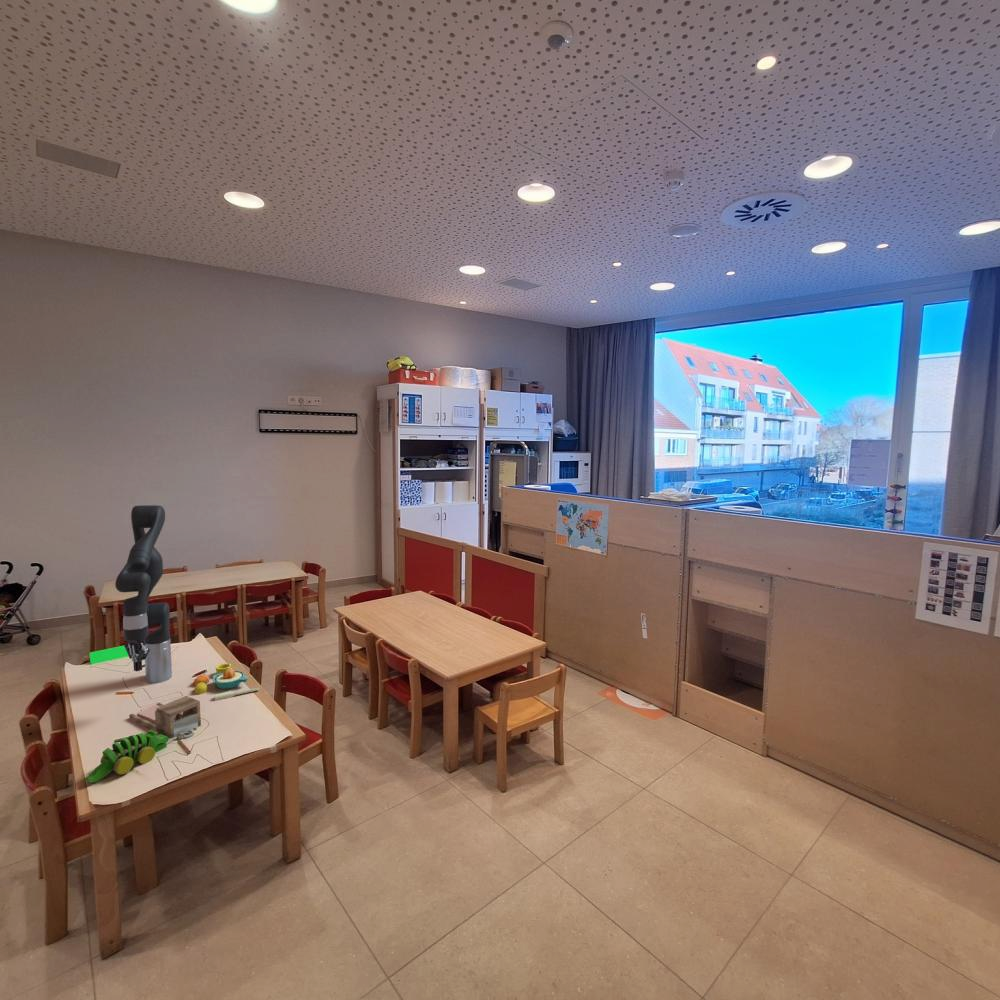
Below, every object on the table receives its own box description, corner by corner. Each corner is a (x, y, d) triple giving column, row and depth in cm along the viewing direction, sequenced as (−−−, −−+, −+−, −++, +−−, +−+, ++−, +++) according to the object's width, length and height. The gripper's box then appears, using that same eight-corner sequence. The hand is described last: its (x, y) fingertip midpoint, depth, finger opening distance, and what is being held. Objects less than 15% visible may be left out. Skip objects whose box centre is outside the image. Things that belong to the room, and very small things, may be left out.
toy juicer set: (183, 687, 218) (182, 670, 218) (227, 673, 233) (227, 656, 232) (214, 709, 201) (213, 690, 200) (260, 692, 215) (259, 674, 215)
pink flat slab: (137, 720, 192) (136, 713, 192) (156, 712, 198) (156, 704, 198) (157, 728, 187) (156, 720, 187) (176, 719, 193) (176, 712, 193)
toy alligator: (201, 737, 182) (200, 713, 181) (94, 789, 154) (92, 761, 153) (184, 730, 186) (183, 706, 186) (78, 779, 158) (76, 752, 157)
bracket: (142, 659, 253) (140, 644, 254) (144, 657, 246) (143, 641, 247) (89, 671, 239) (88, 655, 241) (91, 668, 232) (89, 652, 234)
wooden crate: (129, 720, 192) (128, 696, 191) (159, 707, 201) (158, 684, 200) (171, 739, 180) (169, 713, 179) (200, 725, 189) (199, 701, 188)
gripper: (114, 625, 194) (117, 670, 196) (134, 631, 188) (137, 677, 190) (136, 619, 201) (139, 663, 202) (156, 625, 195) (158, 670, 196)
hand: (138, 670), depth 196 cm, fingers closed
